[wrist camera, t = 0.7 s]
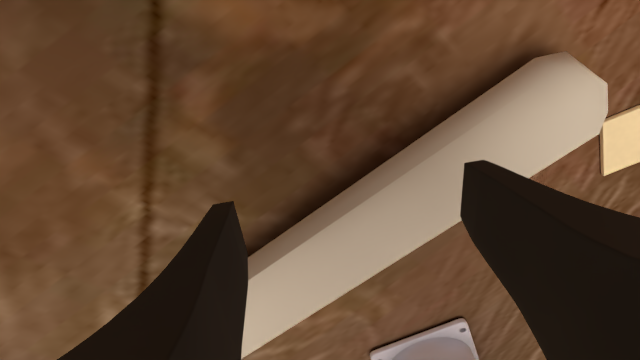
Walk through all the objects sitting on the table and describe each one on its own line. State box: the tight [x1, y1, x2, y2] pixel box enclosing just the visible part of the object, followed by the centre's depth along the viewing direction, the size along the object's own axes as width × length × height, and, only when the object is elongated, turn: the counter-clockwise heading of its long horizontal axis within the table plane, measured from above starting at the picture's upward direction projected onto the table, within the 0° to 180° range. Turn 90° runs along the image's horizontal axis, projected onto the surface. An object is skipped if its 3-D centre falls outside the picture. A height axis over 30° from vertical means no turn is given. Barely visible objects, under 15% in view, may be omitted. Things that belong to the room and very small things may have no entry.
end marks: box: [600, 105, 640, 176], centre depth 26 cm, size 4×34×1 cm, turn 113°
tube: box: [241, 51, 608, 360], centre depth 22 cm, size 5×5×25 cm
